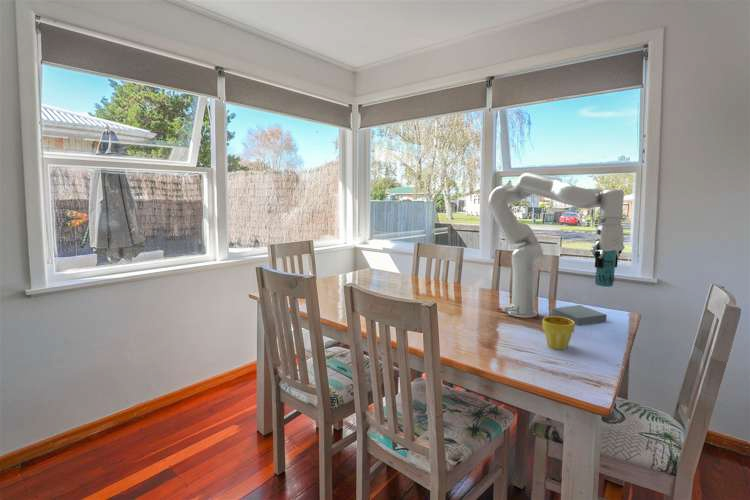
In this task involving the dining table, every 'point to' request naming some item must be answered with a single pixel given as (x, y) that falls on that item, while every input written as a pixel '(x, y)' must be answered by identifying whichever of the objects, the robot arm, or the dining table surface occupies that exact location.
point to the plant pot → (558, 331)
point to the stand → (580, 314)
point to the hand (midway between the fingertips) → (605, 266)
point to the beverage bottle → (606, 270)
